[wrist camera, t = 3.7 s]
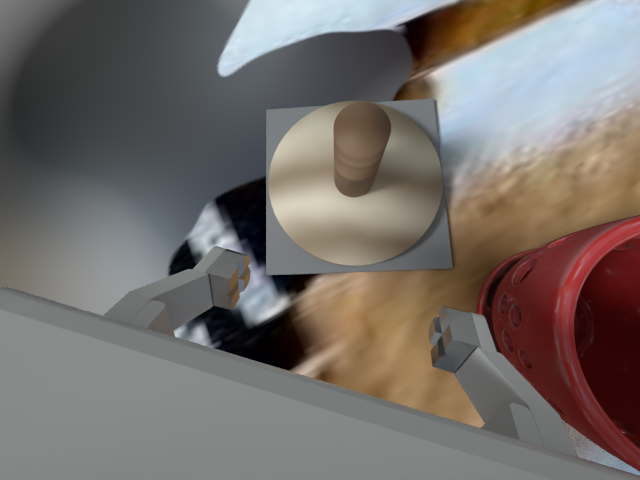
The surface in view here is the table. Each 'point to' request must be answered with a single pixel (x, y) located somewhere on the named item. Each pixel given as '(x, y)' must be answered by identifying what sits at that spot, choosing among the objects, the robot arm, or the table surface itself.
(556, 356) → the plant pot
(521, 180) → the table surface
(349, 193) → the birch lid
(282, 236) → the grey mat
